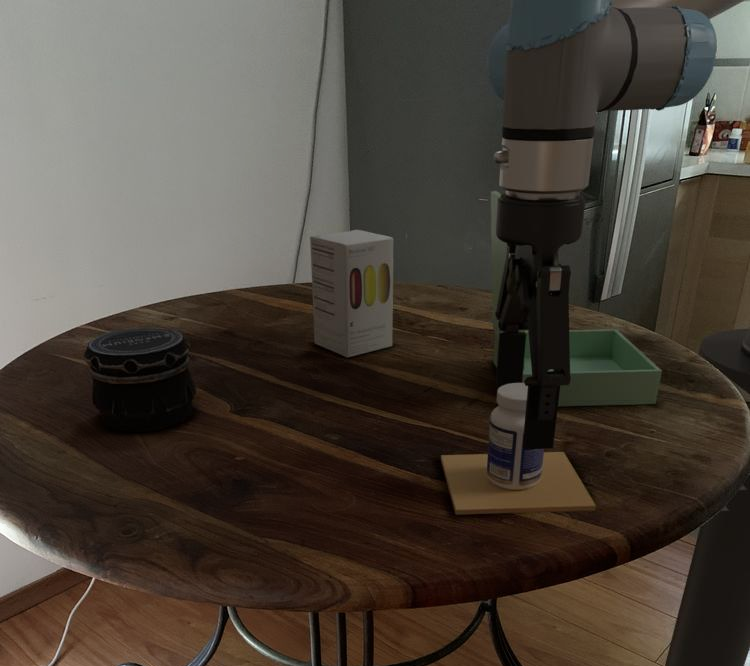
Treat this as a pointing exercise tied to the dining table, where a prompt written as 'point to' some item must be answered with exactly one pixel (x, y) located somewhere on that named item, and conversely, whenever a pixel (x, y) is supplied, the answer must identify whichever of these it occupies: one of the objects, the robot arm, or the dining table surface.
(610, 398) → the chest
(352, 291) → the supplement box
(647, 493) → the dining table surface
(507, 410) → the pill bottle
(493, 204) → the chest lid
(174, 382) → the container
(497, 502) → the cork mat
